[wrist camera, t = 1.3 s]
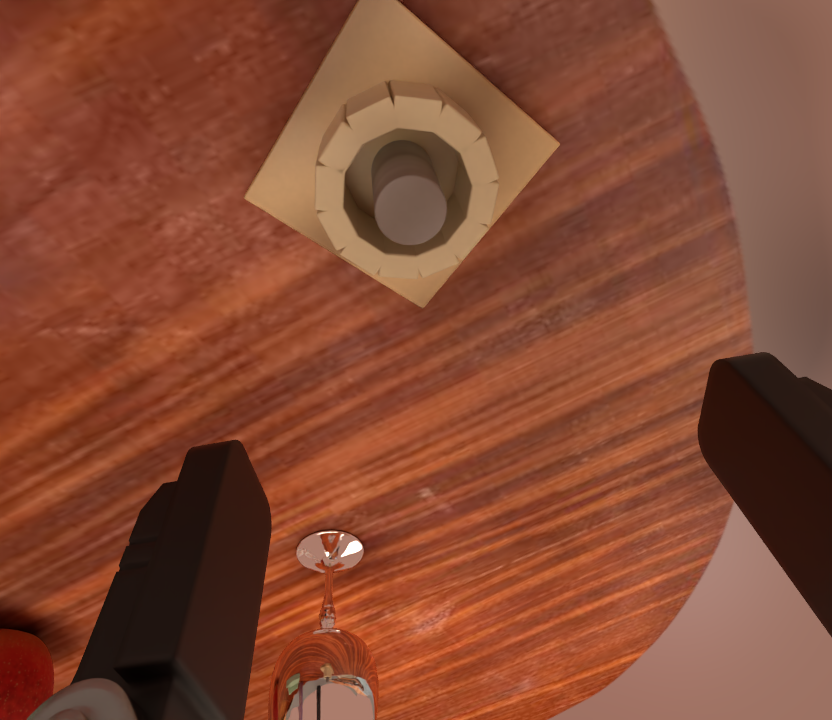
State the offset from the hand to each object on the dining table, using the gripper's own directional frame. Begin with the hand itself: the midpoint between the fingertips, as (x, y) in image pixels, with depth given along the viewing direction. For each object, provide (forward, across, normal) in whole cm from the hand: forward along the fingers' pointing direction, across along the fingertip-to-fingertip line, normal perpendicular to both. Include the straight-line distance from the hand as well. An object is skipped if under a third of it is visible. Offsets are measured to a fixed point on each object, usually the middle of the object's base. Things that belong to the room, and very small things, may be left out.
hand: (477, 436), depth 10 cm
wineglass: (+16, +9, +24) cm, 30 cm away
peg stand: (+16, 0, 0) cm, 16 cm away
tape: (+15, 0, 0) cm, 15 cm away
